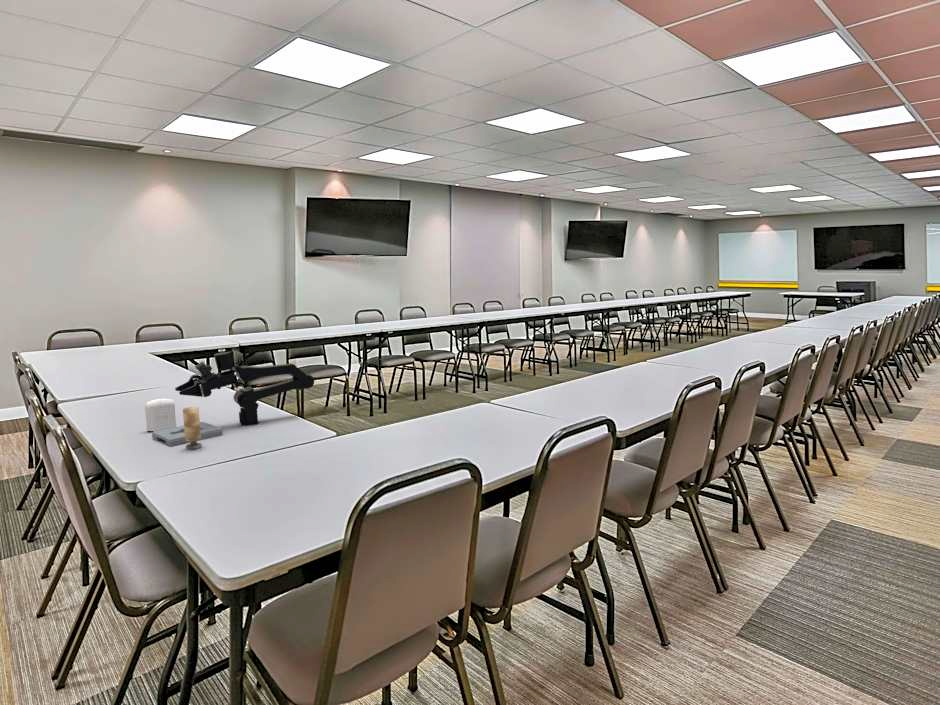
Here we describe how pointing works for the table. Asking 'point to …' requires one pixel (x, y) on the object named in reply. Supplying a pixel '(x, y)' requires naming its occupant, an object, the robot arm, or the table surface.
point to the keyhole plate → (178, 433)
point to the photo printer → (160, 414)
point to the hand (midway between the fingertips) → (177, 391)
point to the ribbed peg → (192, 427)
